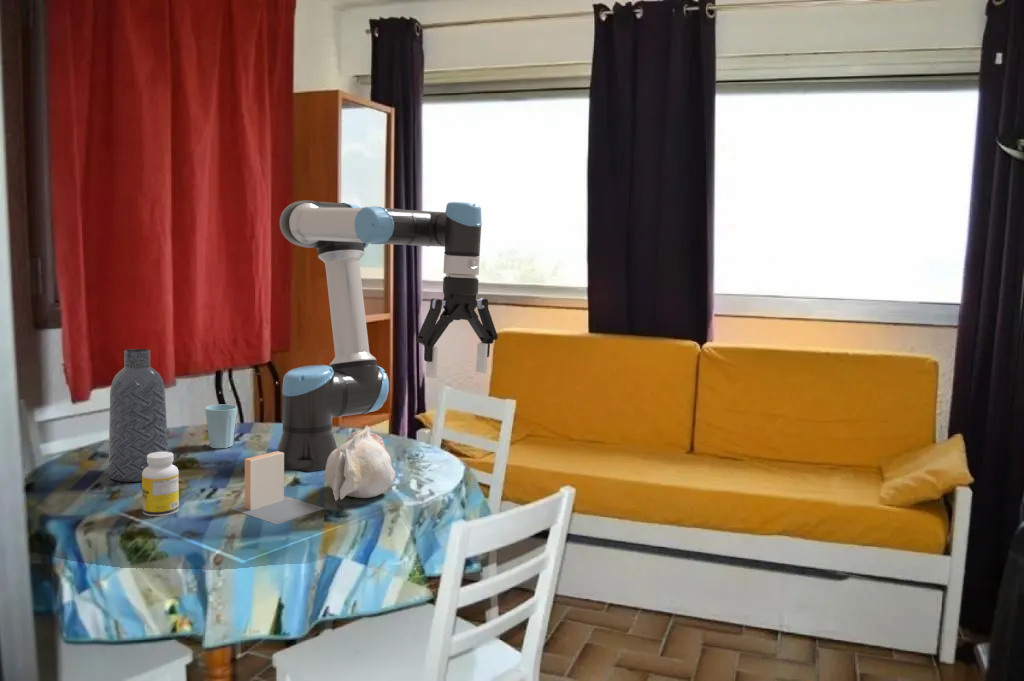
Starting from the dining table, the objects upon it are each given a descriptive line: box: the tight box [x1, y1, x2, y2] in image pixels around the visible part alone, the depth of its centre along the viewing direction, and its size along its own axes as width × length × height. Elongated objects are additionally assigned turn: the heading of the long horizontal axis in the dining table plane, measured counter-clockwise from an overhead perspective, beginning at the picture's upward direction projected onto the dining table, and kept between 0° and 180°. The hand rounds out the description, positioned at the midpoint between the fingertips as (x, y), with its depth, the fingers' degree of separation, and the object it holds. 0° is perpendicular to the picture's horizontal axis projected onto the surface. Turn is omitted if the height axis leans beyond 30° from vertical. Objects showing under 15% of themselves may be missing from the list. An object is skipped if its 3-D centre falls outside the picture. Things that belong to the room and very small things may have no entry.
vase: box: [108, 348, 169, 483], centre depth 173 cm, size 12×12×28 cm
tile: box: [244, 451, 285, 510], centre depth 156 cm, size 2×8×10 cm, turn 146°
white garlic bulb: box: [324, 425, 397, 502], centre depth 164 cm, size 16×19×15 cm
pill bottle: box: [141, 451, 180, 517], centre depth 150 cm, size 6×6×12 cm
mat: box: [229, 495, 326, 526], centre depth 154 cm, size 14×12×1 cm
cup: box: [204, 403, 238, 449], centre depth 200 cm, size 8×8×10 cm
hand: (456, 374), depth 168 cm, fingers open, 13 cm apart
